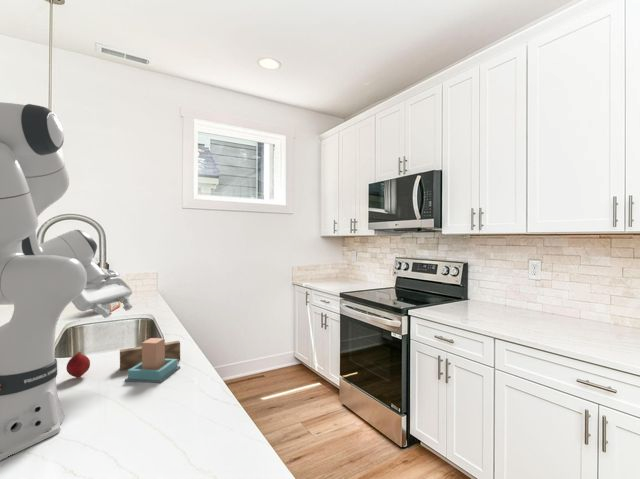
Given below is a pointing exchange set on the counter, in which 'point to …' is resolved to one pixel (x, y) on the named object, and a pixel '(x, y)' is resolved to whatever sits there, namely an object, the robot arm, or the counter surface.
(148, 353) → the block
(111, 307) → the cracker box
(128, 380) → the tray
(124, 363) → the walnut board
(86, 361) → the onion
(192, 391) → the counter surface
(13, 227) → the robot arm
